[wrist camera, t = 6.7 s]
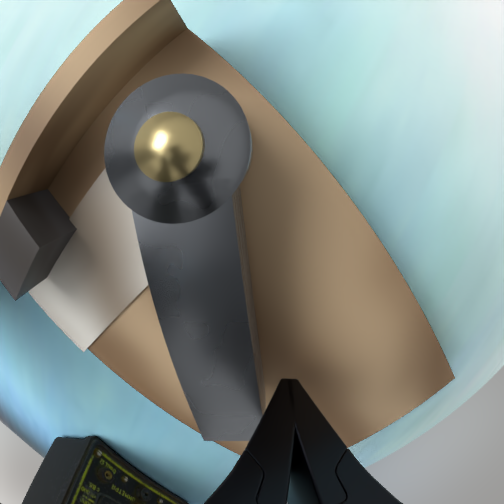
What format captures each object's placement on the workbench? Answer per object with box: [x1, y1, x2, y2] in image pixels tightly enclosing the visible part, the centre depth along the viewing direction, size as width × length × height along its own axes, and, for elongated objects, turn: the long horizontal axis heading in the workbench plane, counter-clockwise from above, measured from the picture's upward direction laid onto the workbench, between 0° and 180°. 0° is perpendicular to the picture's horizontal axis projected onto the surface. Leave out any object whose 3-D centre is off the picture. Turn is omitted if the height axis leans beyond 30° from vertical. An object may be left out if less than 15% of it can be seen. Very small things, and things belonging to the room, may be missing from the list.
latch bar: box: [104, 73, 266, 441], centre depth 7 cm, size 11×3×3 cm, turn 6°
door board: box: [0, 0, 455, 455], centre depth 10 cm, size 12×20×4 cm, turn 42°
